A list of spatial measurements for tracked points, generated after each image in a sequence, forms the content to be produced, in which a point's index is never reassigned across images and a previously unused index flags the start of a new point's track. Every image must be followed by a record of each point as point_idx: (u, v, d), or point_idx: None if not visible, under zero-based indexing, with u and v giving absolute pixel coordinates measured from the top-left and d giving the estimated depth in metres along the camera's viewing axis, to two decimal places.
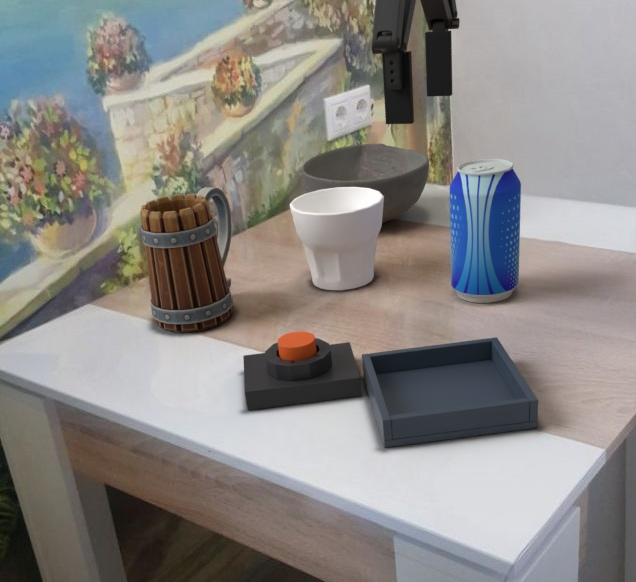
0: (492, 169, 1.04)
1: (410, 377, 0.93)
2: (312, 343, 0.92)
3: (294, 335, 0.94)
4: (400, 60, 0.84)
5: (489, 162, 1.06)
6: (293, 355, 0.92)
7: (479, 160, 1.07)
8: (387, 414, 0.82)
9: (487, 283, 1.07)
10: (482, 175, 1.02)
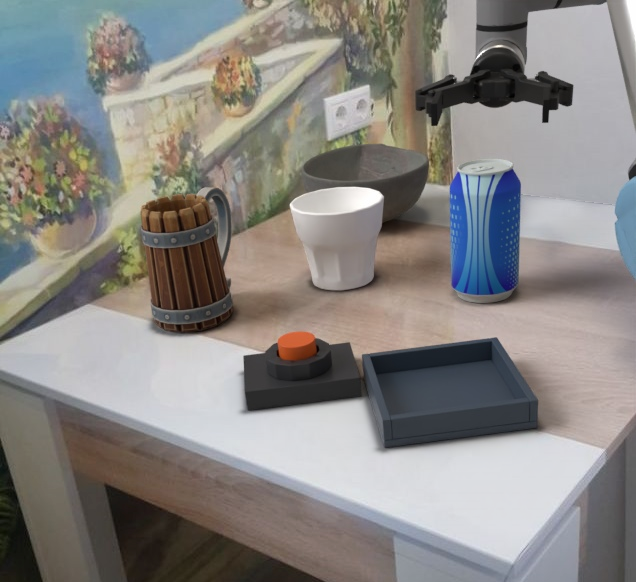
0: (492, 169, 1.04)
1: (410, 377, 0.93)
2: (312, 343, 0.92)
3: (294, 335, 0.94)
4: (431, 97, 1.15)
5: (489, 162, 1.06)
6: (293, 355, 0.92)
7: (479, 160, 1.07)
8: (387, 414, 0.82)
9: (487, 283, 1.07)
10: (482, 175, 1.02)
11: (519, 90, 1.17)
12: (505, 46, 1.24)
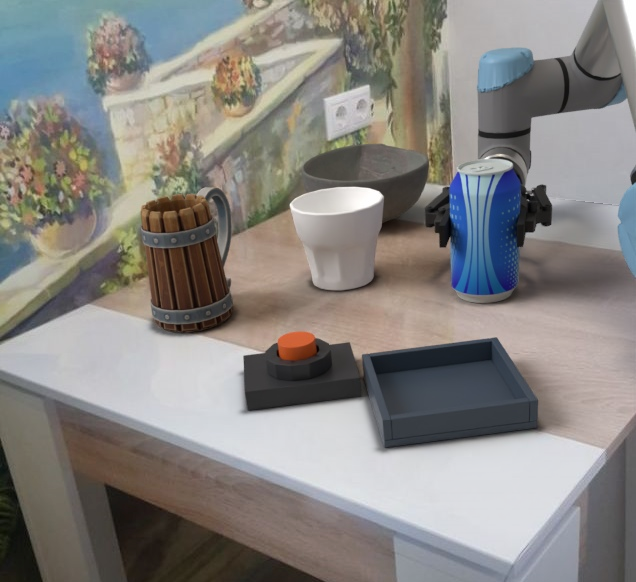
0: (492, 169, 1.04)
1: (410, 377, 0.93)
2: (312, 343, 0.92)
3: (294, 335, 0.94)
4: (441, 215, 1.10)
5: (489, 162, 1.06)
6: (293, 355, 0.92)
7: (479, 160, 1.07)
8: (387, 414, 0.82)
9: (487, 283, 1.07)
10: (482, 175, 1.02)
11: None
12: (505, 155, 1.21)
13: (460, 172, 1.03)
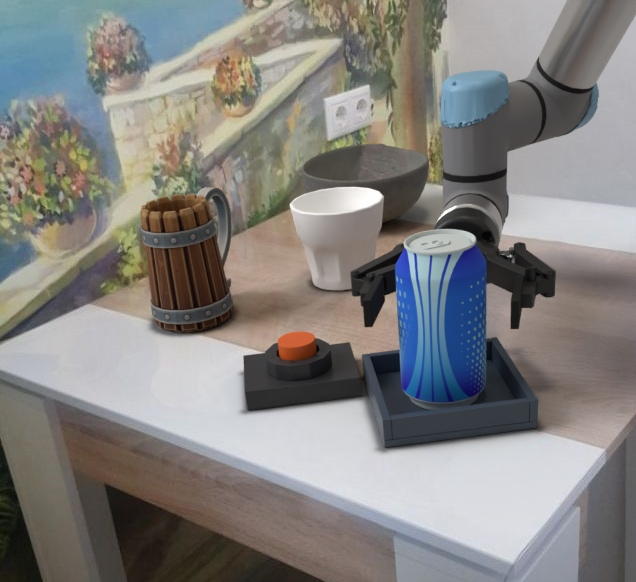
0: (449, 245, 0.80)
1: None
2: (312, 343, 0.92)
3: (294, 335, 0.94)
4: (369, 283, 0.88)
5: (446, 234, 0.83)
6: (293, 355, 0.92)
7: (434, 231, 0.83)
8: (387, 414, 0.82)
9: (444, 388, 0.84)
10: (434, 255, 0.78)
11: (487, 270, 0.90)
12: (474, 205, 0.97)
13: (407, 249, 0.80)
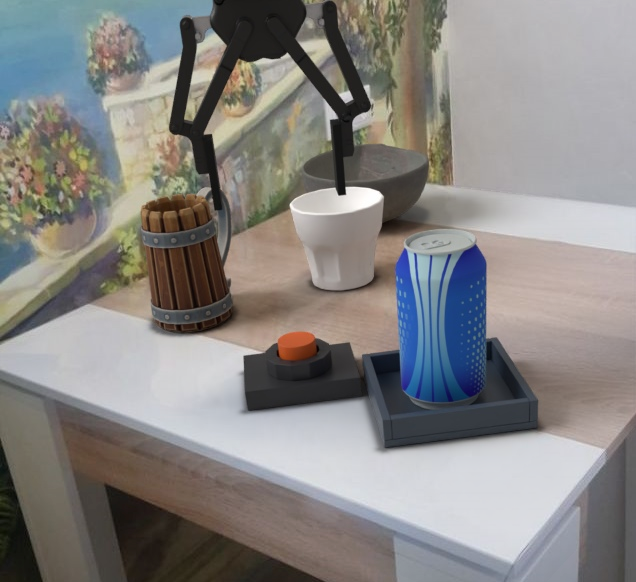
0: (449, 245, 0.80)
1: None
2: (312, 343, 0.92)
3: (294, 335, 0.94)
4: (198, 146, 0.81)
5: (446, 234, 0.83)
6: (293, 355, 0.92)
7: (434, 231, 0.83)
8: (387, 414, 0.82)
9: (445, 388, 0.84)
10: (435, 255, 0.78)
11: None
12: None
13: (407, 249, 0.80)
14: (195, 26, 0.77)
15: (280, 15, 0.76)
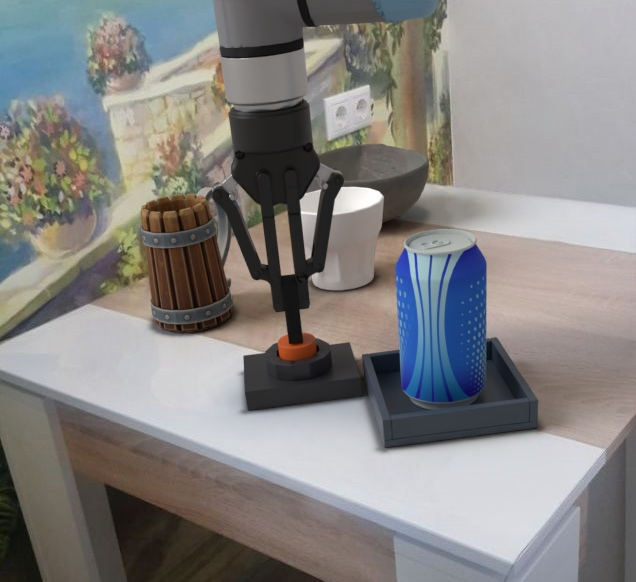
0: (449, 245, 0.80)
1: None
2: (312, 344, 0.92)
3: None
4: (276, 289, 0.89)
5: (446, 234, 0.83)
6: (293, 356, 0.92)
7: (434, 231, 0.83)
8: (387, 414, 0.82)
9: (445, 388, 0.84)
10: (435, 255, 0.78)
11: None
12: (279, 100, 0.77)
13: (407, 249, 0.80)
14: (225, 190, 0.84)
15: (297, 160, 0.82)
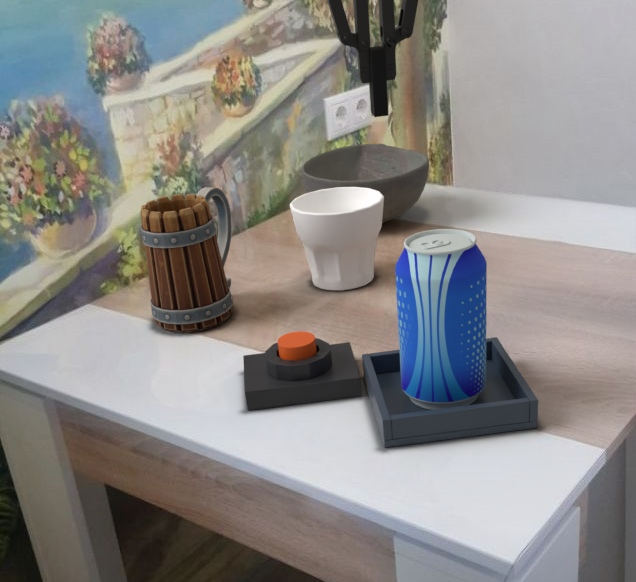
0: (449, 245, 0.80)
1: None
2: (312, 343, 0.92)
3: (294, 335, 0.94)
4: (364, 57, 0.91)
5: (446, 234, 0.83)
6: (293, 355, 0.92)
7: (434, 231, 0.83)
8: (387, 414, 0.82)
9: (445, 388, 0.84)
10: (435, 255, 0.78)
11: None
12: None
13: (407, 249, 0.80)
14: None
15: None
